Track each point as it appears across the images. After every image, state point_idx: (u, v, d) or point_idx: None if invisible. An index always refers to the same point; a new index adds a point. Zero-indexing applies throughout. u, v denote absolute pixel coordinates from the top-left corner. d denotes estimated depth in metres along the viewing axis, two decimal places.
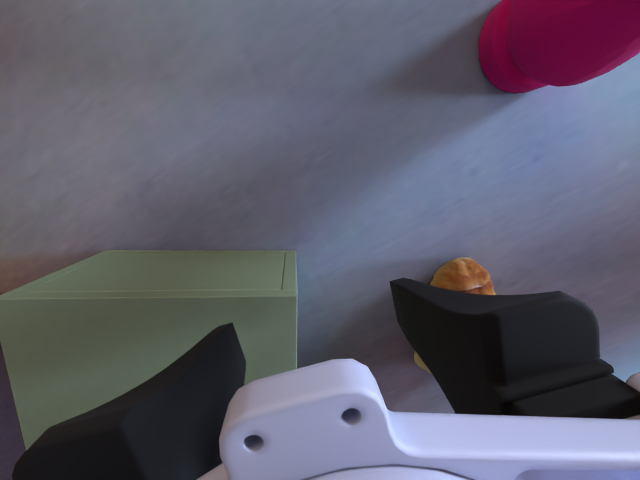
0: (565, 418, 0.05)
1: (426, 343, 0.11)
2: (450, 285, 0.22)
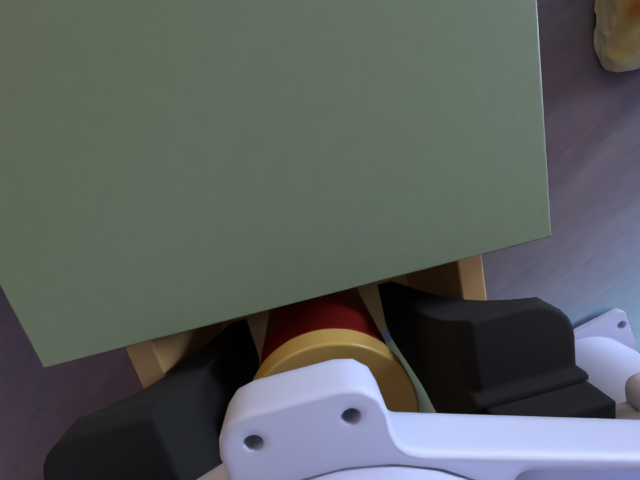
0: (565, 418, 0.05)
1: (411, 347, 0.11)
2: None
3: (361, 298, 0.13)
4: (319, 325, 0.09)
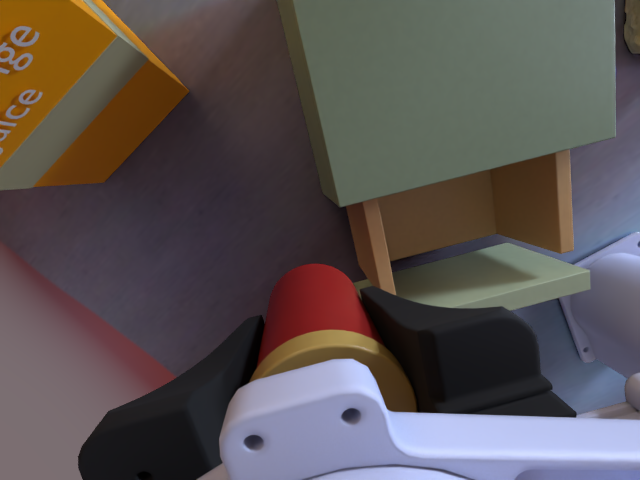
0: (565, 418, 0.05)
1: None
2: None
3: (359, 298, 0.13)
4: (316, 326, 0.09)
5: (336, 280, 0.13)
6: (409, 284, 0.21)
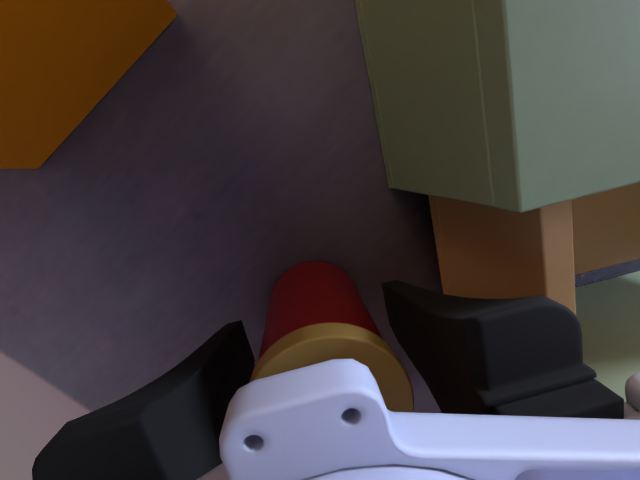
0: (565, 418, 0.05)
1: (416, 346, 0.11)
2: None
3: (358, 294, 0.13)
4: (317, 319, 0.09)
5: (335, 277, 0.13)
6: None
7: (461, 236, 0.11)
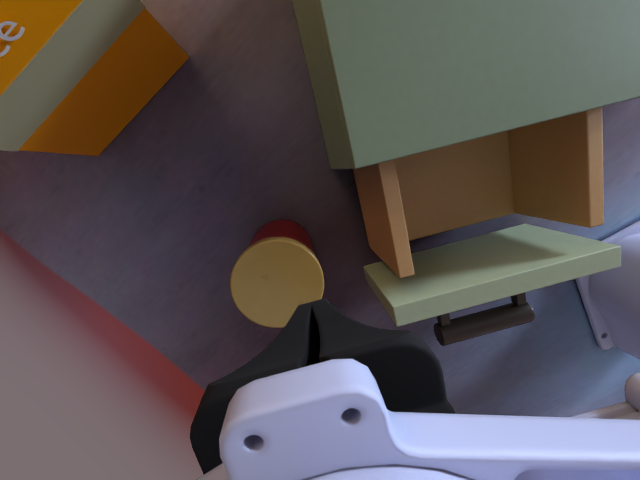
0: (565, 418, 0.05)
1: None
2: None
3: (307, 237, 0.20)
4: (271, 238, 0.16)
5: (292, 226, 0.20)
6: (424, 265, 0.20)
7: (366, 198, 0.18)
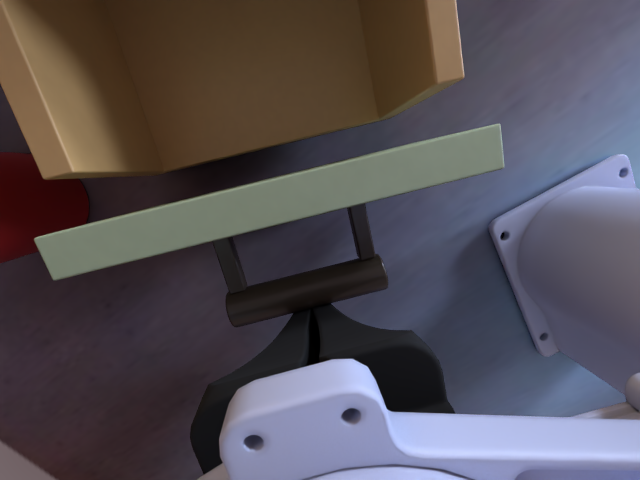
0: (565, 418, 0.05)
1: None
2: None
3: (35, 173, 0.12)
4: None
5: (11, 155, 0.12)
6: None
7: None
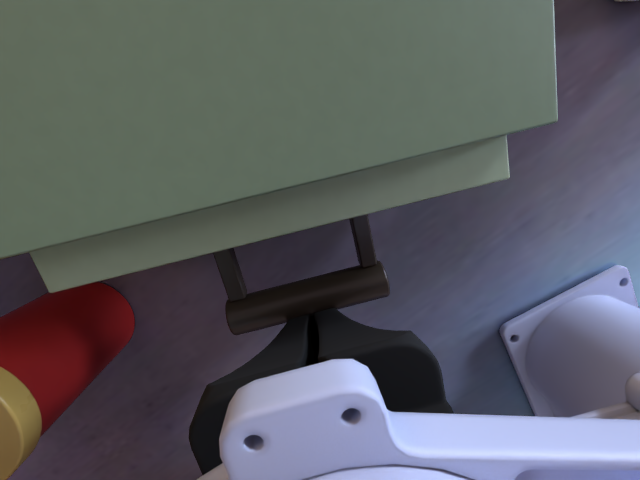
0: (565, 418, 0.05)
1: None
2: None
3: (95, 315, 0.14)
4: None
5: (73, 298, 0.14)
6: None
7: None
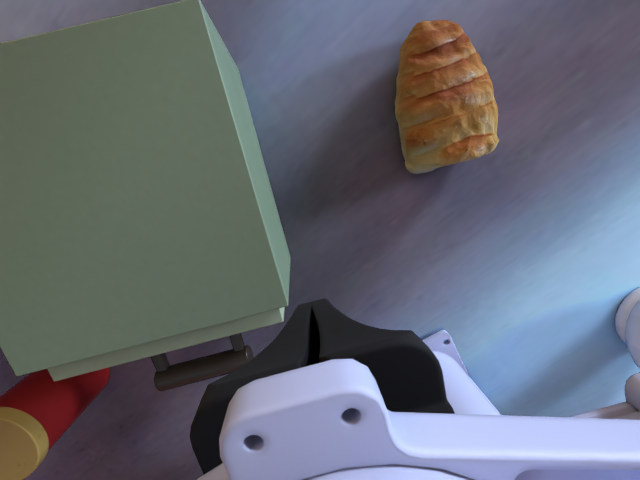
0: (565, 418, 0.05)
1: None
2: (418, 48, 0.19)
3: None
4: None
5: None
6: None
7: None
